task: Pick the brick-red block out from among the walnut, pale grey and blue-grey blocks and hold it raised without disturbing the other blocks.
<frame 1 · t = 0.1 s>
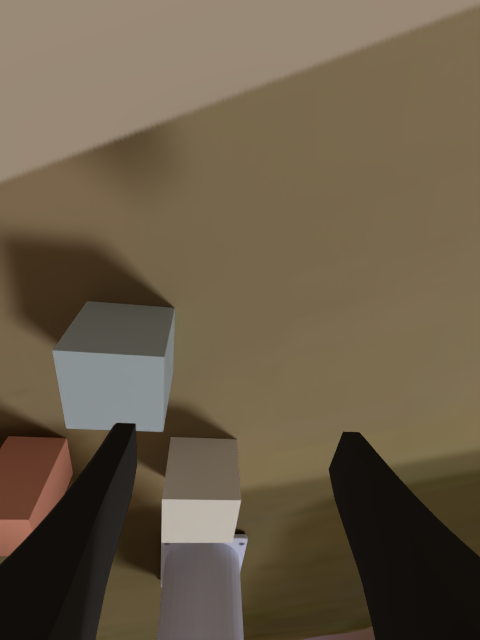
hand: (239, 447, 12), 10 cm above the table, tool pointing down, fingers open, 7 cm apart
blue-grey block: (133, 339, 22), on the table
pale grey block: (202, 459, 28), on the table
brick-red block: (42, 455, 26), on the table
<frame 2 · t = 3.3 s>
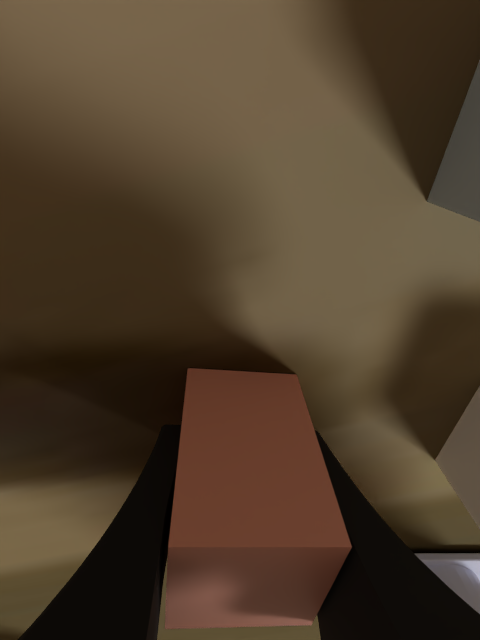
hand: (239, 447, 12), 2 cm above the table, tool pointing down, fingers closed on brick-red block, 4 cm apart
brick-red block: (236, 411, 14), on the table, touching gripper
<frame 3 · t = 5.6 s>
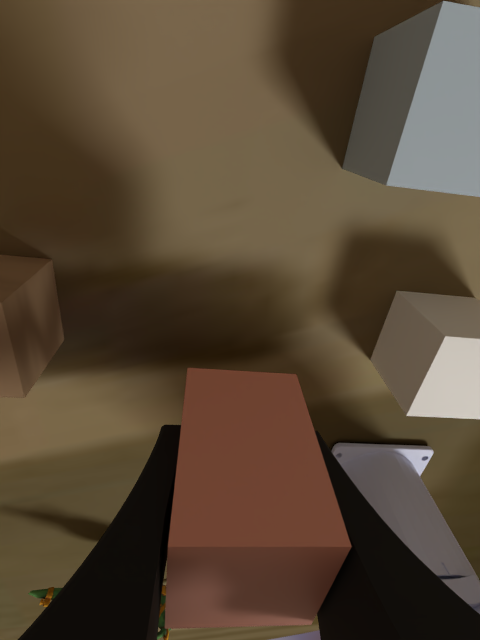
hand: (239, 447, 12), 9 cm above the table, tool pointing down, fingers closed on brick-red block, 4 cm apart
blue-grey block: (408, 115, 16), on the table
figurine: (123, 538, 31), on the table
walnut block: (11, 297, 19), on the table
pale grey block: (419, 329, 22), on the table
brick-red block: (236, 411, 14), point 8 cm above the table, touching gripper
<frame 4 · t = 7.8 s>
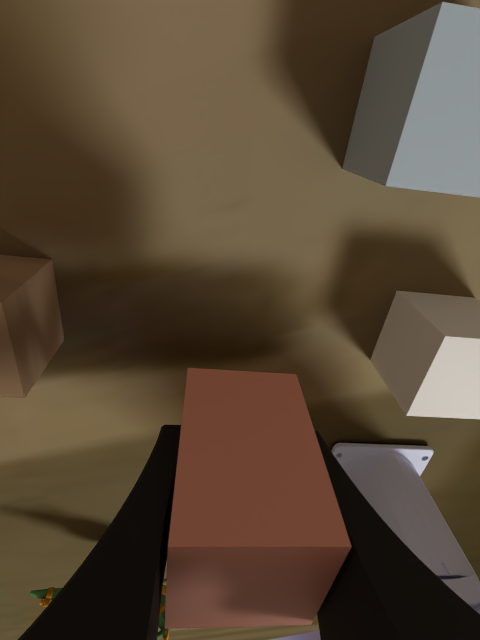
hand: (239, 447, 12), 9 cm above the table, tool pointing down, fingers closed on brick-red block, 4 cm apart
blue-grey block: (408, 115, 16), on the table
figurine: (123, 538, 31), on the table
walnut block: (11, 297, 19), on the table
pale grey block: (419, 329, 22), on the table
brick-red block: (236, 411, 14), point 8 cm above the table, touching gripper
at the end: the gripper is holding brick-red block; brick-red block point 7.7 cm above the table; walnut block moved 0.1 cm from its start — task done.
